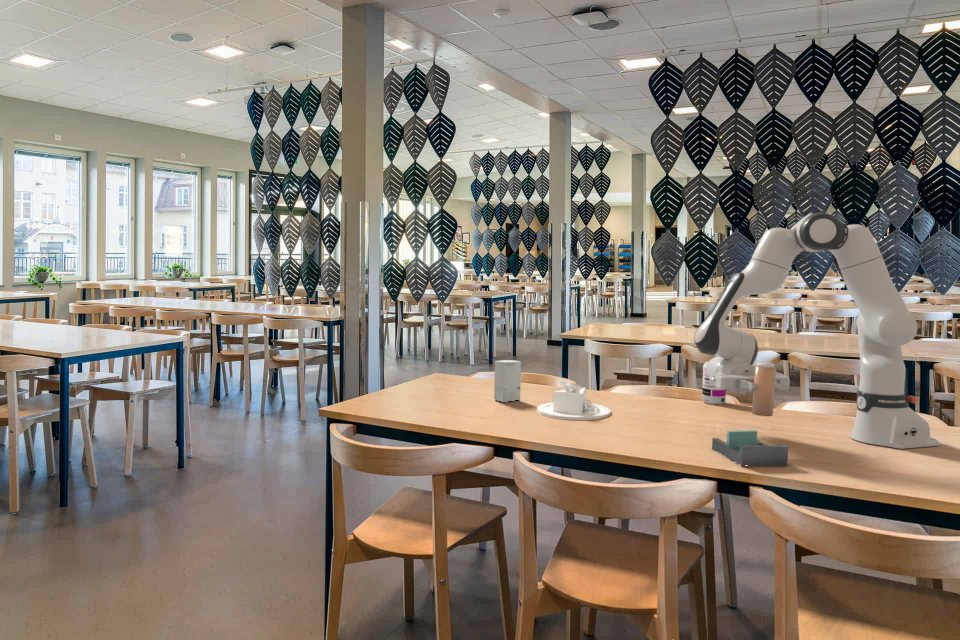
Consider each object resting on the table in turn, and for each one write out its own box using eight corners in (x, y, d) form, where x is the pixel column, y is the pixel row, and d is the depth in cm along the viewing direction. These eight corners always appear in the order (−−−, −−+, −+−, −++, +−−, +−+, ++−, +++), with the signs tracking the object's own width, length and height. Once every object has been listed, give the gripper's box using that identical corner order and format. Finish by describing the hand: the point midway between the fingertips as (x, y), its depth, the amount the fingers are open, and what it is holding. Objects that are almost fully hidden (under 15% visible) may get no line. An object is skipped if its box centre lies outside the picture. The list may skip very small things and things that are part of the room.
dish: (591, 424, 208) (592, 389, 207) (523, 414, 222) (523, 381, 221) (622, 411, 228) (622, 379, 227) (558, 402, 242) (558, 372, 241)
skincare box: (503, 403, 238) (503, 362, 237) (493, 400, 243) (493, 360, 242) (521, 400, 243) (521, 360, 242) (511, 398, 248) (511, 358, 246)
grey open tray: (753, 448, 181) (754, 430, 181) (787, 466, 165) (788, 446, 164) (712, 448, 180) (712, 430, 179) (741, 466, 163) (742, 447, 163)
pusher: (754, 451, 177) (754, 430, 176) (761, 455, 173) (762, 433, 173) (726, 452, 176) (727, 430, 176) (732, 455, 172) (733, 434, 172)
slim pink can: (766, 411, 183) (769, 361, 181) (776, 416, 178) (779, 364, 176) (748, 411, 182) (751, 361, 181) (758, 416, 177) (761, 364, 176)
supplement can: (727, 402, 244) (729, 362, 243) (722, 405, 238) (724, 364, 236) (705, 399, 249) (706, 360, 248) (699, 403, 242) (701, 362, 241)
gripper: (706, 367, 191) (729, 375, 177) (774, 367, 193) (801, 375, 179) (705, 388, 191) (728, 398, 178) (772, 388, 193) (800, 398, 180)
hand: (765, 386), depth 178 cm, fingers closed on slim pink can, 5 cm apart
